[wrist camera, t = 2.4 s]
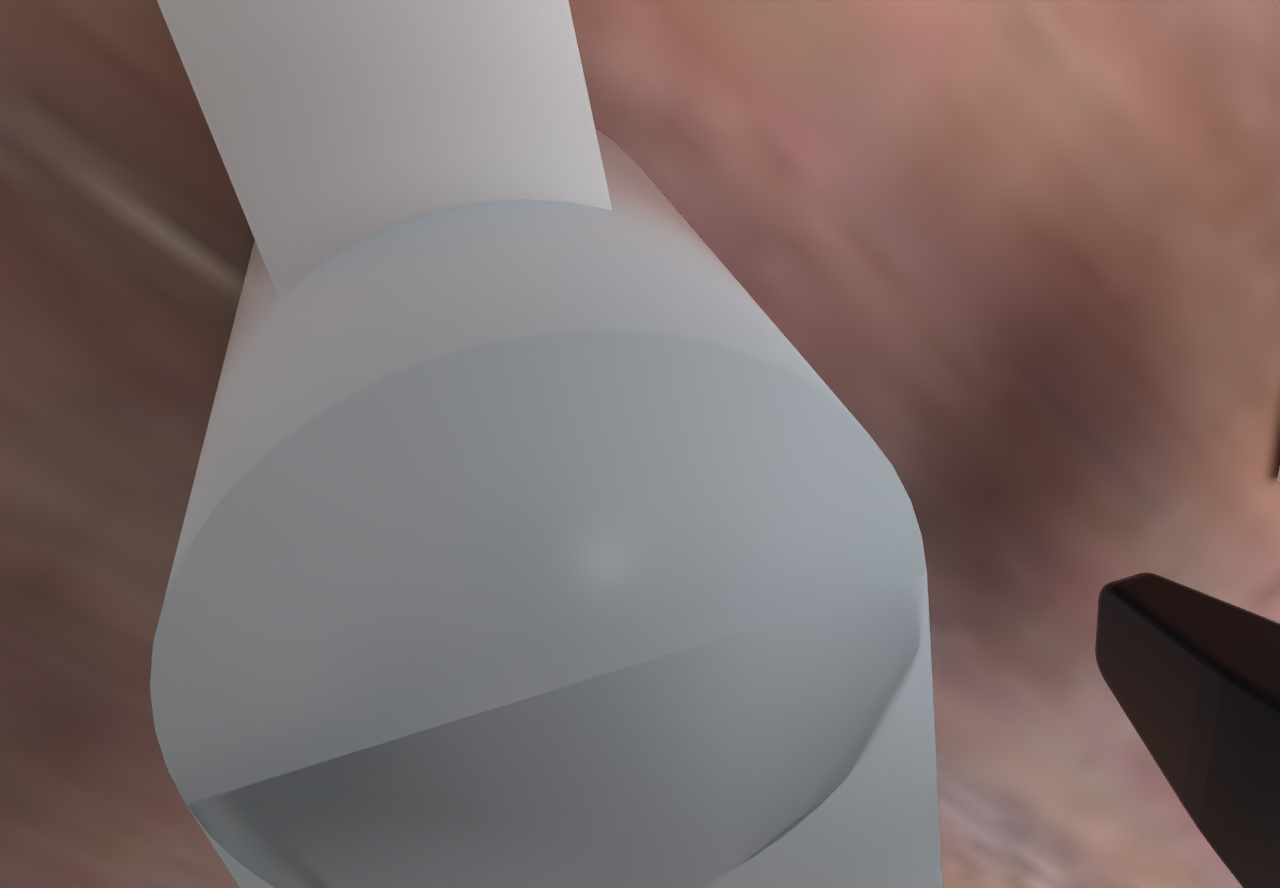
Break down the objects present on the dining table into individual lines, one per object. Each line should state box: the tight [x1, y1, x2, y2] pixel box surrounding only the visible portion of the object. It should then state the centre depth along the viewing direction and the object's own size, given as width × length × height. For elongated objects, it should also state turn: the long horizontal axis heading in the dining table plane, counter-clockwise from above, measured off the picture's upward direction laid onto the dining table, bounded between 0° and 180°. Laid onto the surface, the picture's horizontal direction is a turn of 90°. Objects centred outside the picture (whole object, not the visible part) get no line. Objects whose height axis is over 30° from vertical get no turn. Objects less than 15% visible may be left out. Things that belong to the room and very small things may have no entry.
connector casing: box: [150, 0, 943, 888], centre depth 8 cm, size 13×4×5 cm, turn 11°
